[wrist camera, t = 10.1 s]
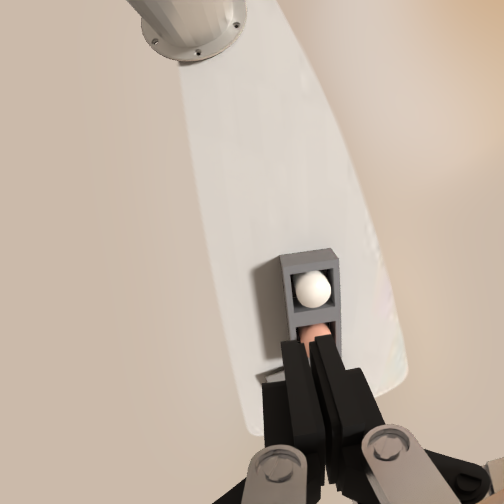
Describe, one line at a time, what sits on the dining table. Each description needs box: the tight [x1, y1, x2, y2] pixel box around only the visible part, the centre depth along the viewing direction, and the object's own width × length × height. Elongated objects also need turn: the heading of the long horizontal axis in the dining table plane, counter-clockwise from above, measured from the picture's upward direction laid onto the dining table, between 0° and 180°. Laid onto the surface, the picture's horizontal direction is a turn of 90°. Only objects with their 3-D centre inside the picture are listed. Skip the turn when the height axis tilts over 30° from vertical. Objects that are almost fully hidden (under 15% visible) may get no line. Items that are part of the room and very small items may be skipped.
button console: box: [280, 248, 341, 363], centre depth 40 cm, size 14×6×4 cm, turn 8°
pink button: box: [298, 322, 331, 358], centre depth 40 cm, size 4×4×4 cm
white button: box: [293, 270, 331, 308], centre depth 38 cm, size 4×4×4 cm
